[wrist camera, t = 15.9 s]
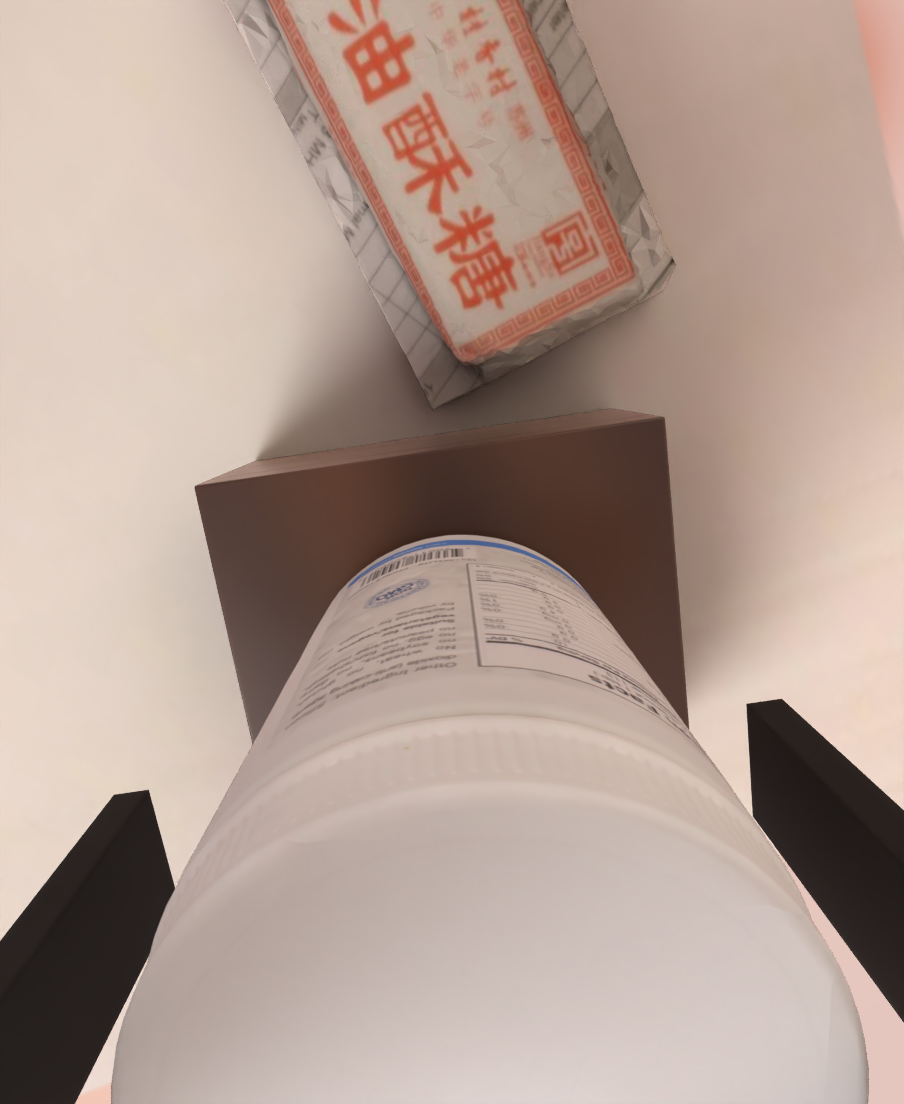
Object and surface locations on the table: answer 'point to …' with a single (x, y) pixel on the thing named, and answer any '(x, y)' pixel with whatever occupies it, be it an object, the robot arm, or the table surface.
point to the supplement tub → (483, 879)
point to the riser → (448, 530)
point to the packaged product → (464, 172)
